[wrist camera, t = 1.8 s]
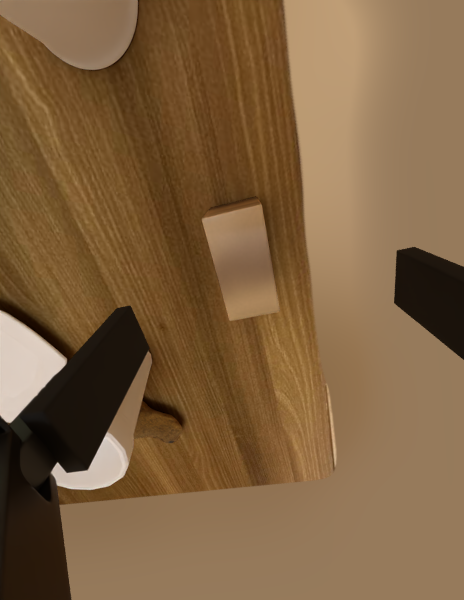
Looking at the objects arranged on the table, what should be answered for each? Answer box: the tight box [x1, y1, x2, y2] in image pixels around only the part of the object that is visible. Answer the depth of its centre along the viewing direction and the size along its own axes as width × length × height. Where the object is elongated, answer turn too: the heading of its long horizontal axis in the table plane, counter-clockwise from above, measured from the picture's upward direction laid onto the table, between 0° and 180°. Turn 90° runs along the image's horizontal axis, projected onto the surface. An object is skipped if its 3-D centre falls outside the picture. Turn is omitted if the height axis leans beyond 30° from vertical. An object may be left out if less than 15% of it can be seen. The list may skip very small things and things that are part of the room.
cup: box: [51, 351, 152, 490], centre depth 27 cm, size 10×10×13 cm
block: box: [202, 197, 280, 321], centre depth 23 cm, size 9×4×6 cm, turn 13°
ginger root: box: [133, 401, 182, 443], centre depth 37 cm, size 10×10×4 cm
